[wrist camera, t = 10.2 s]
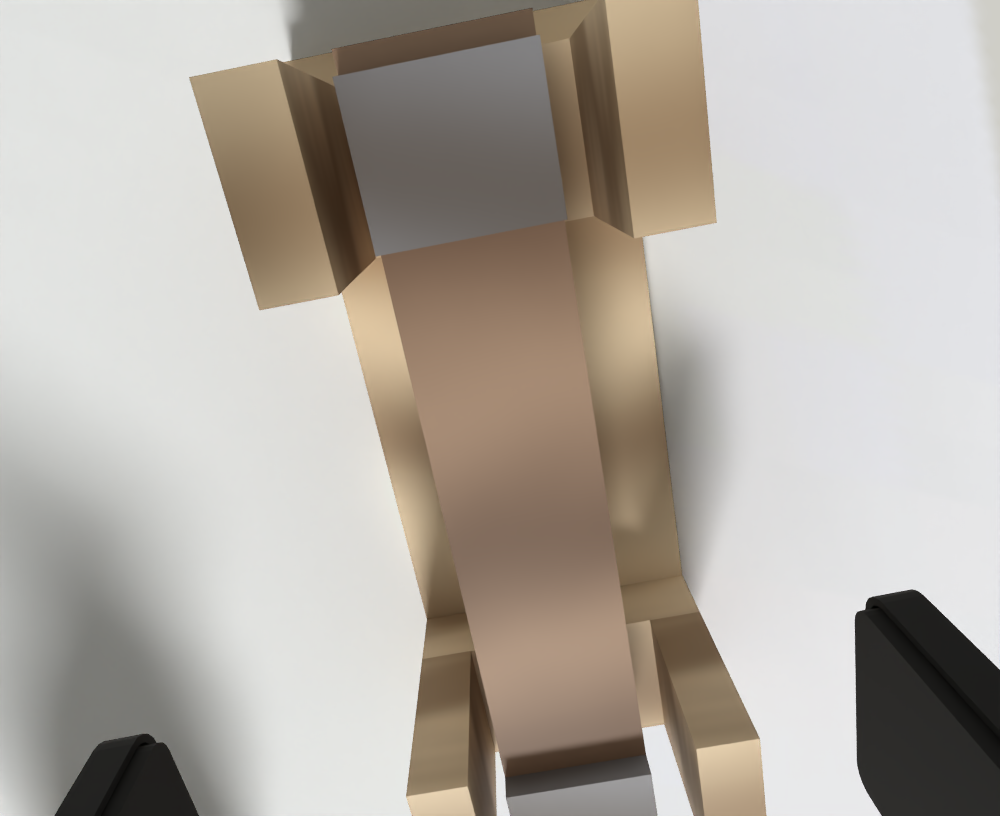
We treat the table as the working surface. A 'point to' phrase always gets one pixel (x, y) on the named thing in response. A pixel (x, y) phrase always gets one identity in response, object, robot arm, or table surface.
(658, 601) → the wooden cradle stand
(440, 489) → the rail
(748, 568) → the table surface
